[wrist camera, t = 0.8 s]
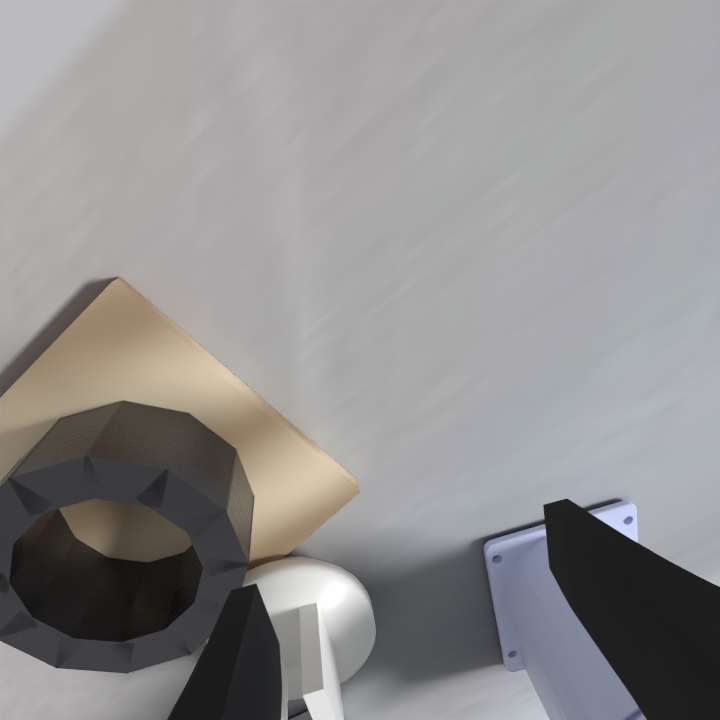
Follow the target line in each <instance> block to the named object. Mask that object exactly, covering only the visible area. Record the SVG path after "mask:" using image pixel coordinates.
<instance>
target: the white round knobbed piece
mask: <svg viewBox="0 0 720 720" xmlns="http://www.w3.org/2000/svg"><path fill="white" fill-rule="evenodd" d="M255 583H256V584H257V586H258V589H259V591H260V594H261V597H262V599H263V602H264V604H265V607H266V610H267V612H268V615H269V617H270V620H271V623H272V625H273V628H274V630H275V633H276V635H277V638H278V641H279V643H280V658H281V675H282V708H281V720H288V700H298V699H304V700H305V702H306V705H307V707H308V709H309V712H310V714H311V717H312V719H313V720H344V716H343V707H342V698H341V689H340V684H342V683H344V682H345V681H346V680H348V679H349V678H350V677H352V676H353V675H354V674H355V673H356V672H357V671H358V670H359V669H360V668H361V667H362V665H363V664H364V663H365V661H366V660H367V658H368V657H369V655H370V653H371V651H372V649H373V645H374V642H375V636H376V624H375V619H374V614H373V609H372V604H371V600H370V597H369V595H368V592H367V591H366V589H365V588H364V586H363V585H362V583H361V582H360V581H359V580H358V579H357V578H356V577H355V576H353V575H352V574H351V573H350V572H348V571H346V570H345V569H343V568H341V567H339V566H337V565H335V564H332V563H329V562H325V561H321V560H317V559H313V558H309V557H301V556H291V557H284V558H283V559H281V560H277V561H273V562H269V563H266V564H263V565H260V566H258V567H255V568H253V569H251V570H249V571H247V572H246V575H245V579H244V582H243V586H242V587H244V586H248V585H252V584H255ZM208 639H209V638H208ZM208 639H207V641H208ZM207 641H206V644H207Z"/></svg>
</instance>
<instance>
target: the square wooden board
mask: <svg viewBox="0 0 720 720" xmlns="http://www.w3.org/2000/svg"><path fill="white" fill-rule="evenodd" d="M122 400H125V401H129V402H135V403H140V404H145V405H150V406H156V407H161V408H166V409H171V410H177V411H182V412H187V413H190V414H191V415H192V416H194V417H195V418H196V419H198V420H199V421H200V422H202V423H203V424H204V425H206V426H207V427H208V428H209V429H211V430H212V431H213V432H215V433H216V434H217V435H219V436H220V437H221V438H223V439H224V440H225V441H227V442H228V443H229V444H230V445H232V446H233V447H234V448H236V449H237V452H238V455H239V458H240V460H241V463H242V465H243V468H244V471H245V473H246V476H247V478H248V481H249V484H250V486H251V489H252V491H253V494H254V496H255V498H254V510H253V522H252V534H251V546H250V558H249V565H248V568H247V571H249V570H251V569H253V568H255V567H258V566H260V565H263V564H266V563H269V562H273V561H277V560H281V559H283V558H284V557H285V556H286V555H287V554H288V553H290V552H291V551H292V550H293V549H294V548H295V547H297V546H298V545H299V544H300V543H301V542H302V541H304V540H305V539H306V538H307V537H308V536H309V535H311V534H312V533H313V532H314V531H315V530H316V529H318V528H319V527H320V526H321V525H322V524H323V523H325V522H326V521H327V520H328V519H329V518H330V517H332V516H333V515H334V514H335V513H336V512H337V511H339V510H340V509H341V508H342V507H343V506H344V505H346V504H347V503H348V502H349V501H350V500H351V499H353V498H354V497H355V496H356V495H357V494H358V493H359V488H358V484H357V480H356V479H355V478H354V477H353V476H352V475H351V474H349V473H348V472H347V471H346V470H345V469H344V468H342V467H341V466H340V465H339V464H338V463H337V462H335V461H334V460H333V459H332V458H331V457H330V456H328V455H327V454H326V453H325V452H324V451H323V450H321V449H320V448H319V447H318V446H317V445H316V444H314V443H313V442H312V441H311V440H310V439H309V438H307V437H306V436H305V435H304V434H303V433H302V432H300V431H299V430H298V429H297V428H296V427H294V426H293V425H292V424H291V423H290V422H289V421H287V420H286V419H285V418H284V417H283V416H282V415H280V414H279V413H278V412H277V411H276V410H275V409H273V408H272V407H271V406H270V405H269V404H268V403H266V402H265V401H264V400H263V399H262V398H261V397H259V396H258V395H257V394H256V393H255V392H254V391H252V390H251V389H250V388H249V387H248V386H247V385H245V384H244V383H243V382H242V381H241V380H240V379H238V378H237V377H236V376H235V375H234V374H233V373H231V372H230V371H229V370H228V369H227V368H226V367H224V366H223V365H222V364H221V363H220V362H219V361H217V360H216V359H215V358H214V357H213V356H212V355H210V354H209V353H208V352H207V351H206V350H205V349H203V348H202V347H201V346H200V345H199V344H198V343H196V342H195V341H194V340H193V339H192V338H191V337H189V336H188V335H187V334H186V333H185V332H184V331H182V330H181V329H180V328H179V327H178V326H177V325H175V324H174V323H173V322H172V321H171V320H170V319H168V318H167V317H166V316H165V315H164V314H163V313H161V312H160V311H159V310H158V309H157V308H156V307H154V306H153V305H152V304H151V303H150V302H149V301H147V300H146V299H145V298H144V297H143V296H142V295H140V294H139V293H138V292H137V291H136V290H135V289H133V288H132V287H131V286H130V285H129V284H128V283H126V282H125V281H124V280H123V279H122V278H121V277H118V278H117V279H116V280H114V281H113V282H111V283H110V284H109V285H108V286H107V287H106V288H105V289H104V290H103V292H102V293H101V294H100V295H99V296H98V297H97V298H96V299H95V300H94V301H93V302H92V303H91V304H90V305H89V306H88V307H87V308H86V309H85V310H84V311H83V312H82V313H81V314H80V315H79V316H78V317H77V319H76V320H75V321H74V322H73V323H72V324H71V325H70V326H69V327H68V328H67V329H66V330H65V331H64V332H63V333H62V334H61V335H60V336H59V337H58V338H57V339H56V340H55V341H54V342H53V343H52V345H51V346H50V347H49V348H48V349H47V350H46V351H45V352H44V353H43V354H42V355H41V356H40V357H39V358H38V359H37V360H36V361H35V362H34V363H33V364H32V365H31V366H30V367H29V368H28V369H27V370H26V372H25V373H24V374H23V375H22V376H21V377H20V378H19V379H18V380H17V381H16V382H15V383H14V384H13V385H12V386H11V387H10V388H9V389H8V390H7V391H6V392H5V393H4V394H3V395H2V396H1V397H0V482H1V480H2V479H3V478H4V477H5V476H6V475H7V474H8V473H9V471H10V470H11V469H12V468H13V467H14V466H15V465H16V464H17V462H18V461H19V460H20V459H21V458H23V457H24V456H25V455H26V454H27V453H28V451H29V450H30V449H31V448H32V447H33V446H34V445H35V444H36V443H37V442H38V441H39V440H40V439H41V438H42V437H43V436H44V435H45V434H46V433H47V432H48V431H49V430H50V429H51V427H52V426H53V425H54V424H55V423H56V422H57V421H58V419H59V418H61V417H65V416H69V415H72V414H76V413H80V412H83V411H87V410H91V409H94V408H98V407H102V406H105V405H109V404H113V403H116V402H120V401H122ZM59 510H60V511H61V513H62V515H63V517H64V518H65V520H66V522H67V524H68V525H69V527H70V529H71V531H72V532H73V534H74V536H75V537H76V538H77V539H78V540H80V541H82V542H83V543H85V544H87V545H88V546H90V547H92V548H93V549H95V550H97V551H98V552H100V553H102V554H104V555H105V556H107V557H109V558H116V559H124V560H132V561H140V562H151V561H155V560H158V559H162V558H165V557H169V556H172V555H176V554H179V553H183V552H185V551H186V550H187V549H188V548H189V547H190V546H191V545H192V543H191V541H190V538H189V536H188V534H187V532H185V531H184V530H182V529H181V528H179V527H178V526H176V525H175V524H173V523H172V522H170V521H169V520H167V519H166V518H164V517H163V516H161V515H160V514H158V513H156V512H155V511H153V510H152V509H150V508H149V507H147V506H141V505H134V504H128V503H121V502H114V501H107V500H100V499H91V500H88V501H84V502H81V503H77V504H73V505H70V506H66V507H63V508H59Z"/></svg>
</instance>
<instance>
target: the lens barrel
mask: <svg viewBox="0 0 720 720" xmlns="http://www.w3.org/2000/svg"><path fill="white" fill-rule="evenodd" d="M254 498H255V496H254V494H253V491H252V489H251V486H250V484H249V481H248V478H247V476H246V473H245V471H244V468H243V465H242V463H241V460H240V458H239V455H238V452H237V449H236V448H234V447H233V446H232V445H230V444H229V443H228V442H227V441H225V440H224V439H223V438H221V437H220V436H219V435H217V434H216V433H215V432H213V431H212V430H211V429H209V428H208V427H207V426H206V425H204V424H203V423H202V422H200V421H199V420H198V419H196V418H195V417H194V416H192V415H191V414H190V413H187V412H182V411H177V410H171V409H166V408H161V407H156V406H150V405H145V404H140V403H135V402H129V401H125V400H122V401H120V402H116V403H113V404H109V405H105V406H102V407H98V408H94V409H91V410H87V411H83V412H80V413H76V414H72V415H69V416H65V417H61V418H59V419H58V421H57V422H56V423H55V424H54V425H53V426H52V427H51V429H50V430H49V431H48V432H47V433H46V434H45V435H44V436H43V437H42V438H41V439H40V440H39V441H38V442H37V443H36V444H35V445H34V446H33V447H32V448H31V449H30V450H29V451H28V453H27V454H26V455H25V456H24V457H23V458H21V459H20V460H19V461H18V462H17V464H16V465H15V466H14V467H13V468H12V469H11V470H10V471H9V473H8V474H7V475H6V476H5V477H4V478H3V479H2V480H1V482H0V641H2V642H4V643H6V644H8V645H10V646H12V647H14V648H16V649H18V650H20V651H23V652H25V653H27V654H29V655H31V656H33V657H35V658H37V659H39V660H41V661H43V662H45V663H47V664H49V665H51V666H54V667H55V668H63V669H77V670H90V671H104V672H117V673H129V672H133V671H136V670H139V669H143V668H146V667H149V666H153V665H156V664H160V663H163V662H166V661H170V660H173V659H176V658H180V657H183V656H186V655H190V654H192V652H194V651H195V650H196V649H197V648H198V647H199V646H200V645H202V644H203V643H204V642H205V641H206V640H207V639H208V638H209V637H210V635H211V633H212V631H213V628H214V626H215V624H216V622H217V620H218V617H219V615H220V613H221V610H222V608H223V606H224V604H225V601H226V599H227V597H228V594H229V593H230V591H231V590H233V589H237V588H241V587H242V586H243V582H244V579H245V575H246V572H247V568H248V565H249V558H250V546H251V534H252V522H253V510H254ZM91 499H100V500H107V501H114V502H121V503H128V504H134V505H141V506H147V507H149V508H150V509H152V510H153V511H155V512H156V513H158V514H160V515H161V516H163V517H164V518H166V519H167V520H169V521H170V522H172V523H173V524H175V525H176V526H178V527H179V528H181V529H182V530H184V531H185V532H187V534H188V536H189V538H190V541H191V543H192V545H191V546H190V547H189V548H188V549H187V550H186V551H185V552H183V553H179V554H176V555H172V556H169V557H165V558H162V559H158V560H155V561H151V562H140V561H132V560H124V559H116V558H109V557H107V556H105V555H104V554H102V553H100V552H98V551H97V550H95V549H93V548H92V547H90V546H88V545H87V544H85V543H83V542H82V541H80V540H78V539H77V538H76V537H75V536H74V534H73V532H72V531H71V529H70V527H69V525H68V524H67V522H66V520H65V518H64V517H63V515H62V513H61V511H60V510H59V508H63V507H66V506H70V505H73V504H77V503H81V502H84V501H88V500H91Z"/></svg>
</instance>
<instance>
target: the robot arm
mask: <svg viewBox="0 0 720 720" xmlns="http://www.w3.org/2000/svg"><path fill="white" fill-rule="evenodd" d="M543 506H544V516H545V524H543V525H539V526H536V527H533V528H529V529H526V530H522V531H519V532H516V533H512V534H509V535H505V536H502V537H499V538H495V539H492V540H490V541H488V542H487V543H486V544H485V545H484V556H485V561H486V567H487V572H488V578H489V584H490V589H491V595H492V600H493V606H494V611H495V617H496V623H497V628H498V634H499V639H500V645H501V651H502V656H503V662H504V665H505V667H506V669H507V670H508V671H509V672H516V671H519V670H523V669H526V671H527V673H528V675H529V677H530V680H531V682H532V684H533V686H534V688H535V690H536V692H537V694H538V696H539V698H540V700H541V702H542V704H543V706H544V709H545V711H546V713H547V715H548V717H549V719H550V720H720V587H718V586H716V585H714V584H712V583H710V582H708V581H706V580H704V579H702V578H700V577H698V576H696V575H694V574H692V573H690V572H689V571H687V570H685V569H683V568H681V567H679V566H677V565H675V564H673V563H672V562H670V561H668V560H666V559H664V558H663V557H661V556H659V555H657V554H656V553H654V552H652V551H650V550H649V549H647V548H645V547H644V546H642V545H640V544H639V543H638V540H637V509H636V506H635V505H634V504H633V503H632V502H630V501H628V500H625V501H621V502H617V503H614V504H611V505H607V506H604V507H600V508H597V509H594V510H590V511H586V510H584V509H583V508H581V507H580V506H578V505H576V504H575V503H573V502H572V501H570V500H568V499H564V500H560V501H556V502H553V503H549V504H545V505H543ZM626 517H627V518H626ZM625 518H626V519H625ZM497 555H498V556H497ZM494 556H497V557H495V558H493V557H494ZM281 708H282V675H281V658H280V643H279V641H278V638H277V635H276V633H275V630H274V628H273V625H272V623H271V620H270V617H269V615H268V612H267V610H266V607H265V604H264V602H263V599H262V597H261V594H260V591H259V589H258V586H257V584H256V583H255V584H252V585H248V586H244V587H241V588H237V589H233V590H231V591H230V593H229V594H228V597H227V599H226V601H225V604H224V606H223V608H222V610H221V613H220V615H219V617H218V620H217V622H216V624H215V626H214V628H213V631H212V633H211V635H210V637H209V639H208V641H207V644H206V646H205V648H204V650H203V652H202V654H201V656H200V658H199V660H198V662H197V664H196V666H195V668H194V670H193V672H192V674H191V676H190V678H189V680H188V682H187V684H186V686H185V688H184V690H183V692H182V693H181V695H180V697H179V699H178V701H177V703H176V704H175V706H174V708H173V710H172V712H171V714H170V715H169V717H168V719H167V720H281Z"/></svg>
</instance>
